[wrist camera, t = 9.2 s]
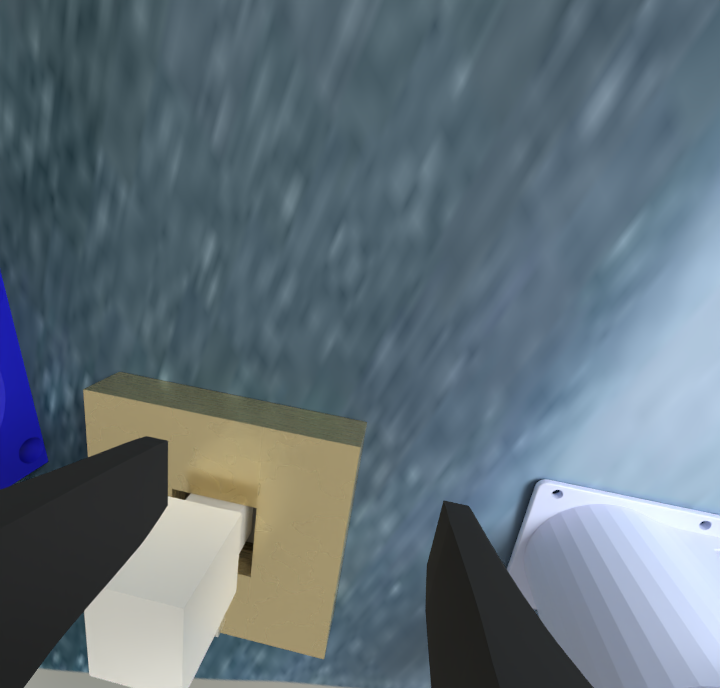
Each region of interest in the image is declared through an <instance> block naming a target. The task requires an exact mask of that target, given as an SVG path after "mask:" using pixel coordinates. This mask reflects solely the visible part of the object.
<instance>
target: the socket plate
mask: <svg viewBox="0 0 720 688" xmlns="http://www.w3.org/2000/svg"><path fill="white" fill-rule="evenodd" d="M83 392H84V406H85V421H86V436H87V451H88V457H90V456H93V455H95V454H98V453H101V452H103V451H106V450H108V449H111V448H113V447H116V446H119V445H121V444H124V443H127V442H130V441H132V440H135V439H138V438H142V437H145V436H149V437H153V438H158V439H163V440H167V441H168V496H169V497H173V498H178V499H182V500H186V499H187V498H188V496H189V495H190V494H191V493H192V494H197V495H201V496H206V497H210V498H214V499H219V500H223V501H227V502H232V503H236V504H241V505H245V506H249V507H254V508H257V509H256V521H255V533H254V543H250V542H245V544H244V546H243V548H242V550H241V552H240V553H239V560H238V574H237V588H236V593H235V595H234V597H233V599H232V601H231V603H230V605H229V607H228V609H227V611H226V613H225V615H224V617H223V619H222V621H221V623H220V625H219V627H218V630H217V632H216V634H215V636H216V637H218V636H219V634H220V633H224V634H228V635H232V636H236V637H240V638H243V639H247V640H251V641H255V642H259V643H263V644H267V645H270V646H274V647H278V648H282V649H286V650H290V651H294V652H298V653H301V654H305V655H309V656H313V657H317V658H321V659H324V657H325V652H326V648H327V643H328V638H329V634H330V629H331V624H332V620H333V614H334V608H335V603H336V597H337V591H338V586H339V580H340V574H341V568H342V563H343V557H344V551H345V546H346V540H347V534H348V528H349V523H350V517H351V511H352V506H353V500H354V494H355V488H356V483H357V477H358V471H359V466H360V460H361V454H362V448H363V443H364V437H365V431H366V425H367V422H364V421H359V420H354V419H349V418H344V417H339V416H334V415H329V414H324V413H319V412H315V411H310V410H305V409H300V408H295V407H290V406H285V405H280V404H275V403H270V402H265V401H260V400H256V399H251V398H246V397H241V396H236V395H231V394H226V393H221V392H216V391H211V390H206V389H201V388H197V387H192V386H187V385H182V384H177V383H172V382H167V381H162V380H157V379H152V378H147V377H142V376H138V375H133V374H128V373H123V372H118V373H116V374H114V375H112V376H110V377H108V378H106V379H104V380H102V381H100V382H98V383H96V384H93V385H91V386H89V387H87V388H85V389H83Z"/></svg>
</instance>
